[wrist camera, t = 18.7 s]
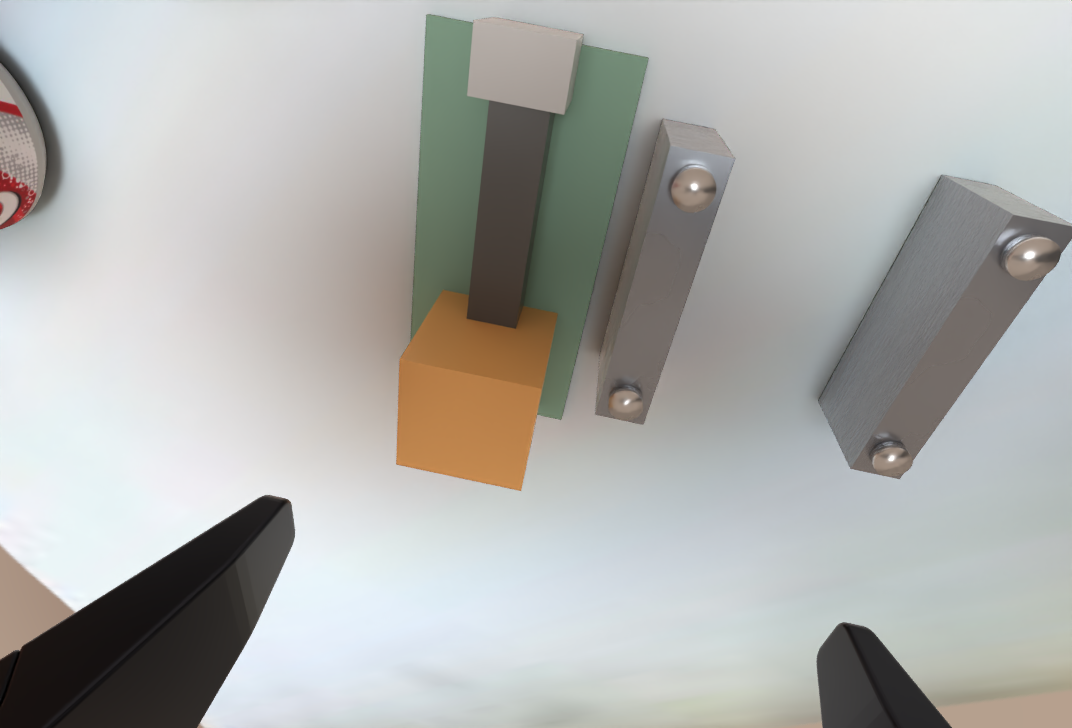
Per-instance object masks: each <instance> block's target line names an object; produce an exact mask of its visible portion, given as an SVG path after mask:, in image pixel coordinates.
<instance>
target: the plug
mask: <svg viewBox="0 0 1072 728" xmlns="http://www.w3.org/2000/svg"><path fill="white" fill-rule="evenodd" d="M582 40H583V34H579V33H574V32H569V31H564V30H559V29H553V28H548V27H543V26H538V25H533V24H527V23H522V22H517V21H512V20H507V19H501V18H496V17H491V18H484V19H477V20H473V32H472V44H471V56H470V68H469V80H468V92H467V96H471V97H476V98H481V99H486V100H489V107H488V116H487V126H486V136H485V145H484V155H483V165H482V174H481V184H480V194H479V203H478V213H477V222H476V232H475V242H474V251H473V261H472V271H471V280H470V290H469V295H466V294H461V293H456V292H452V291H447V290H443V291H442V292H441V294H440V295H439V297H438V299H437V300H436V302H435V303H434V305H433V307H432V308H431V310H430V311H429V313H428V315H427V316H426V318H425V319H424V321H423V323H422V324H421V326H420V327H419V329H418V331H417V332H416V334H415V335H414V337H413V339H412V340H411V342H410V343H409V345H408V347H407V348H406V350H405V351H404V353H403V355H402V356H401V358H400V363H399V395H398V428H397V460H396V464H397V465H402V466H406V467H411V468H416V469H420V470H425V471H430V472H435V473H439V474H444V475H449V476H453V477H458V478H463V479H468V480H472V481H477V482H482V483H486V484H491V485H496V486H501V487H505V488H510V489H515V490H519V491H521V488H522V484H523V479H524V474H525V470H526V465H527V460H528V456H529V451H530V446H531V441H532V437H533V432H534V427H535V423H536V418H537V413H538V408H539V404H540V399H541V394H542V389H543V384H544V379H545V374H546V369H547V364H548V360H549V355H550V350H551V345H552V340H553V335H554V330H555V325H556V320H557V315H558V313H554V312H549V311H545V310H540V309H535V308H530V307H525V306H523V305H524V299H525V293H526V287H527V281H528V275H529V269H530V263H531V257H532V251H533V244H534V238H535V232H536V226H537V220H538V214H539V208H540V202H541V196H542V190H543V184H544V178H545V171H546V165H547V159H548V153H549V147H550V141H551V135H552V129H553V123H554V117H555V113H557V114H563V115H564V114H565V112H566V110H567V108H568V106H569V104H570V103H571V101H572V96H573V91H574V85H575V79H576V74H577V68H578V63H579V57H580V51H581V46H582Z"/></svg>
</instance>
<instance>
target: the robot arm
mask: <svg viewBox="0 0 1072 728" xmlns="http://www.w3.org/2000/svg"><path fill="white" fill-rule="evenodd" d="M294 538H295V527H294V519H293V512H292V505H291V502H290V501H289V500H288V499H285V498H281V497H276V496H272V495H265V496H262V497H260V498H258V499H256V500H255V501H253V502H252V503H250V504H248V505H247V506H245V507H244V508H242V509H240V510H239V511H237V512H236V513H234V514H232V515H231V516H229V517H228V518H226V519H224V520H223V521H221V522H220V523H218V524H216V525H215V526H213V527H212V528H210V529H208V530H207V531H205V532H204V533H202V534H200V535H199V536H197V537H196V538H194V539H192V540H191V541H189V542H188V543H186V544H184V545H183V546H181V547H180V548H178V549H177V550H175V551H173V552H172V553H170V554H169V555H167V556H165V557H164V558H162V559H161V560H159V561H157V562H156V563H154V564H153V565H151V566H149V567H148V568H146V569H145V570H143V571H141V572H140V573H138V574H137V575H135V576H133V577H132V578H130V579H129V580H127V581H125V582H124V583H122V584H121V585H119V586H117V587H116V588H114V589H113V590H111V591H109V592H108V593H106V594H105V595H103V596H101V597H100V598H98V599H97V600H95V601H93V602H92V603H90V604H89V605H87V606H85V607H84V608H82V609H81V610H79V611H77V612H76V613H74V614H73V615H71V616H69V617H68V618H66V619H65V620H63V621H61V622H60V623H58V624H57V625H55V626H54V627H52V628H50V629H49V630H47V631H46V632H44V633H42V634H41V635H39V636H38V637H36V638H34V639H33V640H31V641H30V642H28V643H26V644H25V645H24V646H22V648H21V650H20V651H19V650H15V651H13V652H12V653H10V654H8V655H7V656H5V657H4V658H2V659H0V728H197V727H198V725H199V723H200V722H201V720H202V718H203V717H204V715H205V713H206V711H207V710H208V708H209V706H210V705H211V703H212V701H213V700H214V698H215V696H216V694H217V693H218V691H219V689H220V688H221V686H222V684H223V683H224V681H225V679H226V677H227V676H228V674H229V672H230V671H231V669H232V667H233V665H234V664H235V662H236V660H237V659H238V657H239V655H240V654H241V652H242V650H243V648H244V647H245V645H246V643H247V641H248V639H249V638H250V636H251V634H252V632H253V630H254V628H255V626H256V624H257V622H258V620H259V617H260V615H261V613H262V611H263V609H264V606H265V604H266V602H267V600H268V598H269V596H270V593H271V591H272V589H273V587H274V585H275V582H276V580H277V578H278V576H279V574H280V571H281V569H282V567H283V565H284V563H285V560H286V558H287V556H288V554H289V552H290V549H291V547H292V545H293V542H294ZM817 674H818V684H819V695H820V705H821V716H822V726H823V728H952V727H951V726H950V725H949V723H948V722H947V721H946V720H945V719H944V717H943V716H942V715H941V714H940V713H939V711H938V710H937V709H936V708H935V706H934V705H933V704H932V703H931V702H930V700H929V699H928V698H927V697H926V695H925V694H924V693H923V692H922V691H921V689H920V688H919V687H918V686H917V685H916V683H915V682H914V681H913V680H912V678H911V677H910V676H909V675H908V674H907V672H906V671H905V670H904V669H903V668H902V666H901V665H900V664H899V663H898V661H897V660H896V659H895V658H894V657H893V655H892V654H891V653H890V652H889V651H888V649H887V648H886V647H885V646H884V644H883V643H882V642H881V641H880V640H879V638H878V637H877V636H876V635H875V634H874V633H873V632H872V631H871V630H870V629H868V628H867V627H864V626H860V625H855V624H851V623H846V622H843V623H840V624H838V625H837V626H836V628H835V629H834V630H833V632H832V633H831V634H830V636H829V637H828V638H827V639H826V641H825V642H824V643H823V645H822V646H821V647H820V649H819V652H818V655H817Z"/></svg>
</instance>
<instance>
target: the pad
mask: <svg viewBox="0 0 1072 728" xmlns="http://www.w3.org/2000/svg"><path fill="white" fill-rule="evenodd" d="M472 32H473V23H471V22H466V21H461V20H456V19H451V18H446V17H441V16H436V15H431V14H427V15H426V34H425V54H424V75H423V96H422V116H421V137H420V158H419V178H418V199H417V219H416V240H415V261H414V281H413V302H412V323H411V340H412V339H413V337H414V335H415V334H416V332H417V331H418V329H419V327H420V326H421V324H422V323H423V321H424V319H425V318H426V316H427V315H428V313H429V311H430V310H431V308H432V307H433V305H434V303H435V302H436V300H437V299H438V297H439V295H440V294H441V292H442V291H443V290H447V291H452V292H456V293H461V294H466V295H469V290H470V280H471V271H472V261H473V251H474V242H475V232H476V222H477V213H478V203H479V194H480V184H481V174H482V165H483V155H484V145H485V136H486V126H487V116H488V107H489V100H486V99H481V98H476V97H471V96H467V92H468V80H469V68H470V56H471V44H472ZM647 63H648V58H647V57H642V56H637V55H632V54H627V53H622V52H617V51H612V50H607V49H602V48H597V47H592V46H587V45H582V46H581V51H580V57H579V63H578V68H577V74H576V79H575V85H574V91H573V96H572V101H571V103H570V104H569V106H568V108H567V110H566V112H565V114H564V115H563V114H557V113H555V117H554V123H553V129H552V135H551V141H550V147H549V153H548V159H547V165H546V171H545V178H544V184H543V190H542V196H541V202H540V208H539V214H538V220H537V226H536V232H535V238H534V244H533V251H532V257H531V263H530V269H529V275H528V281H527V287H526V293H525V299H524V305H523V306H525V307H530V308H535V309H540V310H545V311H549V312H554V313H558V315H557V320H556V325H555V330H554V335H553V340H552V345H551V350H550V355H549V360H548V364H547V369H546V374H545V379H544V384H543V389H542V394H541V399H540V404H539V408H538V413H537V415H541V416H546V417H550V418H555V419H560V420H561V419H562V415H563V411H564V406H565V402H566V398H567V394H568V390H569V386H570V382H571V377H572V373H573V369H574V365H575V361H576V357H577V353H578V349H579V344H580V340H581V336H582V332H583V328H584V324H585V320H586V315H587V311H588V307H589V303H590V299H591V295H592V291H593V286H594V282H595V278H596V274H597V270H598V266H599V262H600V257H601V253H602V249H603V245H604V241H605V237H606V233H607V228H608V224H609V220H610V216H611V212H612V208H613V204H614V199H615V195H616V191H617V187H618V183H619V179H620V175H621V170H622V166H623V162H624V158H625V154H626V150H627V146H628V141H629V137H630V133H631V129H632V125H633V121H634V117H635V112H636V108H637V104H638V100H639V96H640V92H641V88H642V83H643V79H644V75H645V71H646V67H647Z"/></svg>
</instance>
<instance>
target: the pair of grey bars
mask: <svg viewBox="0 0 1072 728" xmlns="http://www.w3.org/2000/svg"><path fill="white" fill-rule="evenodd" d="M734 161H735V157H734V156H733V154H732V153H731V151H730V150H729V149H728V147H727V146H726V144H725V143H724V141H723V140H722V138H721V137H720V135H719V134H718V132H717V131H716V129H711V128H706V127H701V126H696V125H692V124H687V123H682V122H677V121H672V120H667V119H663V120H662V123H661V127H660V131H659V135H658V138H657V142H656V146H655V150H654V153H653V157H652V161H651V164H650V168H649V172H648V176H647V179H646V183H645V187H644V191H643V194H642V198H641V202H640V206H639V209H638V213H637V217H636V221H635V224H634V228H633V232H632V235H631V239H630V243H629V247H628V250H627V254H626V258H625V262H624V265H623V269H622V273H621V277H620V280H619V284H618V288H617V292H616V295H615V299H614V303H613V306H612V310H611V314H610V318H609V321H608V325H607V329H606V333H605V336H604V340H603V344H602V348H601V351H600V355H599V369H598V383H597V396H596V410H595V414H596V415H600V416H605V417H610V418H614V419H619V420H624V421H628V422H633V423H638V424H644V421H645V418H646V415H647V412H648V410H649V407H650V404H651V401H652V398H653V395H654V392H655V389H656V386H657V384H658V381H659V378H660V375H661V372H662V369H663V366H664V363H665V360H666V358H667V355H668V352H669V349H670V346H671V343H672V340H673V337H674V334H675V331H676V329H677V326H678V323H679V320H680V317H681V314H682V311H683V308H684V305H685V303H686V300H687V297H688V294H689V291H690V288H691V285H692V282H693V279H694V277H695V274H696V271H697V268H698V265H699V262H700V259H701V256H702V253H703V251H704V248H705V245H706V242H707V239H708V236H709V233H710V230H711V227H712V225H713V222H714V219H715V216H716V213H717V210H718V207H719V204H720V201H721V199H722V196H723V193H724V190H725V187H726V184H727V181H728V178H729V175H730V173H731V170H732V167H733V164H734ZM1071 239H1072V224H1071V223H1069V222H1067V221H1065V220H1063V219H1061V218H1059V217H1057V216H1055V215H1053V214H1051V213H1049V212H1047V211H1045V210H1043V209H1041V208H1039V207H1037V206H1035V205H1033V204H1031V203H1029V202H1028V201H1026V200H1024V199H1022V198H1020V197H1018V196H1016V195H1014V194H1012V193H1010V192H1008V191H1006V190H1004V189H1002V188H1000V187H998V186H996V185H991V184H986V183H981V182H976V181H971V180H966V179H961V178H956V177H951V176H946V175H942V176H941V178H940V180H939V182H938V184H937V185H936V187H935V189H934V191H933V193H932V195H931V196H930V198H929V200H928V202H927V204H926V205H925V207H924V209H923V211H922V213H921V215H920V216H919V218H918V220H917V222H916V224H915V225H914V227H913V229H912V231H911V233H910V235H909V236H908V238H907V240H906V242H905V244H904V246H903V247H902V249H901V251H900V253H899V255H898V256H897V258H896V260H895V262H894V264H893V266H892V267H891V269H890V271H889V273H888V275H887V276H886V278H885V280H884V282H883V284H882V286H881V287H880V289H879V291H878V293H877V295H876V296H875V298H874V300H873V302H872V304H871V306H870V307H869V309H868V311H867V313H866V315H865V316H864V318H863V320H862V322H861V324H860V326H859V327H858V329H857V331H856V333H855V335H854V337H853V338H852V340H851V342H850V344H849V346H848V347H847V349H846V351H845V353H844V355H843V357H842V358H841V360H840V362H839V364H838V366H837V367H836V369H835V371H834V373H833V375H832V377H831V378H830V380H829V382H828V384H827V386H826V387H825V389H824V391H823V393H822V395H821V397H820V398H819V400H818V402H819V404H820V406H821V408H822V410H823V412H824V414H825V416H826V418H827V420H828V423H829V425H830V427H831V429H832V431H833V433H834V435H835V437H836V439H837V441H838V443H839V446H840V448H841V450H842V452H843V454H844V456H845V458H846V460H847V462H848V464H849V467H850V469H855V470H859V471H864V472H869V473H873V474H878V475H883V476H888V477H892V478H897V479H900V478H901V476H902V475H903V474H904V473H905V472H906V471H908V470H909V469H910V467H911V466H912V463H913V460H914V458H915V457H916V455H917V454H918V453H919V451H920V450H921V448H922V447H923V446H924V444H925V443H926V441H927V440H928V439H929V437H930V436H931V434H932V433H933V432H934V430H935V429H936V428H937V426H938V425H939V423H940V422H941V421H942V419H943V418H944V416H945V415H946V414H947V412H948V411H949V409H950V408H951V407H952V405H953V404H954V402H955V401H956V400H957V398H958V397H959V395H960V394H961V393H962V391H963V390H964V388H965V387H966V386H967V384H968V383H969V382H970V380H971V379H972V377H973V376H974V375H975V373H976V372H977V370H978V369H979V368H980V366H981V365H982V363H983V362H984V361H985V359H986V358H987V356H988V355H989V354H990V352H991V351H992V349H993V348H994V347H995V345H996V344H997V342H998V341H999V340H1000V338H1001V337H1002V336H1003V334H1004V333H1005V331H1006V330H1007V329H1008V327H1009V326H1010V324H1011V323H1012V322H1013V320H1014V319H1015V317H1016V316H1017V315H1018V313H1019V312H1020V310H1021V309H1022V308H1023V306H1024V305H1025V303H1026V302H1027V301H1028V299H1029V298H1030V296H1031V295H1032V294H1033V292H1034V291H1035V289H1036V288H1037V287H1038V285H1039V284H1040V283H1041V281H1042V280H1043V278H1044V277H1045V276H1046V274H1047V273H1049V272H1050V271H1051V270H1052V269H1053V268H1054V267H1055V266H1056V265H1057V263H1058V261H1059V259H1060V256H1061V253H1062V252H1063V250H1064V249H1065V248H1066V246H1067V245H1068V243H1069V242H1070V241H1071Z"/></svg>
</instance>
